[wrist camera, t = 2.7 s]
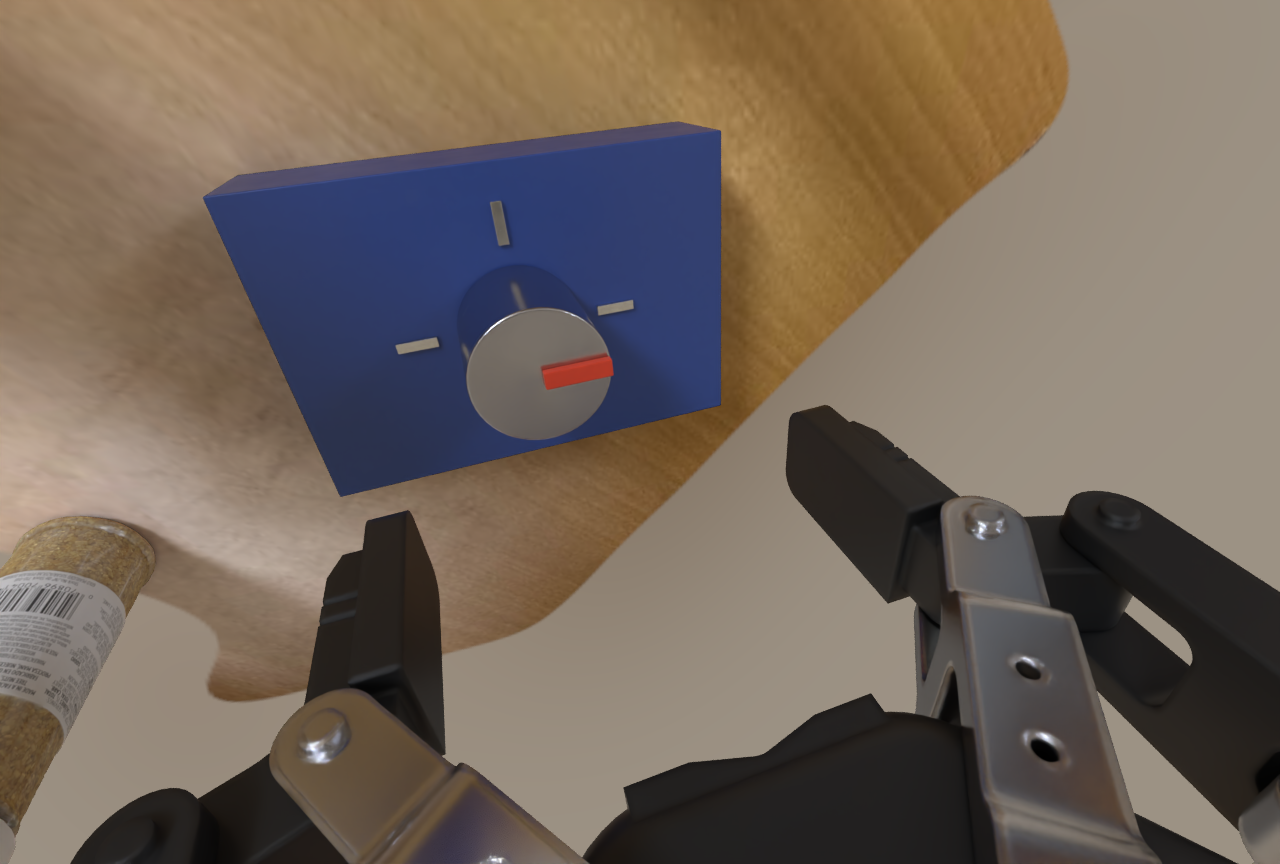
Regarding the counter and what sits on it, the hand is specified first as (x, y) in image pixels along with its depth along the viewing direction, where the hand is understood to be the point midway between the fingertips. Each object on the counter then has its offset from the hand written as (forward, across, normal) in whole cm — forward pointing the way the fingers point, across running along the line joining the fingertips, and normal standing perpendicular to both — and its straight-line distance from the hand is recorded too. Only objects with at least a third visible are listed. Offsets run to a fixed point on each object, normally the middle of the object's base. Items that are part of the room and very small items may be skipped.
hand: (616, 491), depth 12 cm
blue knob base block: (+15, +1, 0) cm, 15 cm away
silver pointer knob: (+11, +1, 0) cm, 11 cm away
